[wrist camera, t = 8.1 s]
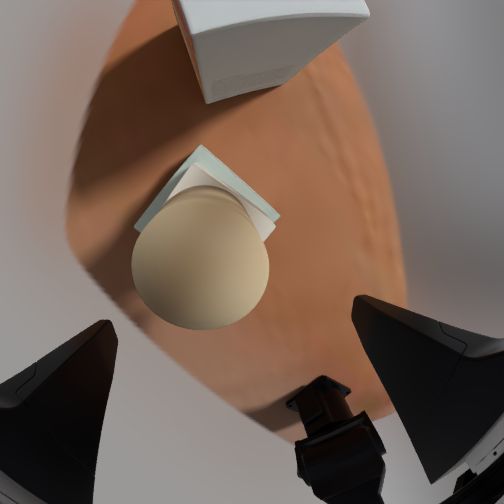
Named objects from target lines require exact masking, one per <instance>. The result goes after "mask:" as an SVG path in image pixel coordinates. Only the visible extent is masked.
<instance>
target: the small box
mask: <svg viewBox="0 0 504 504" xmlns="http://www.w3.org/2000/svg"><path fill="white" fill-rule="evenodd" d="M171 1H172V5H173V9H174V13H175V16H176V20H177V23H178V26H179V28H180V30H181V33H182V36H183V39H184V42H185V44H186V47H187V50H188V53H189V56H190V59H191V62H192V65H193V68H194V71H195V74H196V77H197V80H198V83H199V85H200V88H201V91H202V94H203V98H204V101H205V103H206V104H210V103H213V102H216V101H219V100H222V99H226V98H229V97H233V96H236V95H240V94H244V93H248V92H251V91H256V90H260V89H264V88H269V87H273V86H278V85H283V84H285V83H286V82H287V81H288V80H290V79H291V78H292V77H293V76H294V75H295V74H297V73H298V72H299V71H300V70H301V69H302V68H304V67H305V66H306V65H307V64H308V63H309V62H310V61H312V60H313V59H314V58H315V57H316V56H318V55H319V54H320V53H322V52H323V51H324V50H325V49H327V48H328V47H329V46H330V45H332V44H333V43H334V42H336V41H337V40H338V39H339V38H341V37H342V36H343V35H344V34H346V33H348V32H349V31H350V30H352V29H353V28H354V27H356V26H357V25H359V24H360V23H362V22H364V21H365V20H367V19H368V18H370V12H369V9H368V8H367V5H366V3H365V1H364V0H171Z"/></svg>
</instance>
